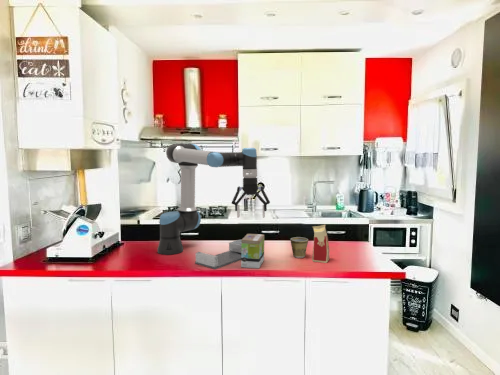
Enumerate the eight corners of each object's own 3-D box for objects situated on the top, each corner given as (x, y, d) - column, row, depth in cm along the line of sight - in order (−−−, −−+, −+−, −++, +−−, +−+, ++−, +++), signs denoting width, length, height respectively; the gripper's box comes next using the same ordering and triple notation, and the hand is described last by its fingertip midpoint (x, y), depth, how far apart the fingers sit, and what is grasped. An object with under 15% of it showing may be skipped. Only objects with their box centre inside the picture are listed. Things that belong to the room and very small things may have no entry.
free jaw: (229, 250, 208) (229, 242, 207) (240, 246, 216) (240, 239, 215) (247, 254, 199) (247, 246, 199) (258, 250, 207) (258, 242, 207)
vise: (195, 263, 188) (194, 252, 187) (241, 248, 217) (240, 238, 217) (215, 269, 178) (215, 257, 178) (260, 252, 208) (260, 242, 207)
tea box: (259, 268, 179) (259, 240, 177) (240, 267, 181) (240, 239, 179) (264, 260, 193) (264, 233, 192) (246, 259, 195) (246, 233, 194)
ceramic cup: (306, 259, 194) (306, 241, 193) (288, 258, 197) (288, 240, 196) (310, 253, 206) (310, 236, 205) (293, 251, 209) (293, 235, 208)
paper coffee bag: (329, 258, 196) (330, 223, 194) (327, 263, 187) (328, 226, 185) (313, 256, 199) (313, 222, 197) (310, 261, 190) (310, 225, 188)
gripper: (225, 178, 183) (226, 218, 185) (273, 177, 179) (273, 218, 181) (228, 177, 190) (229, 216, 192) (274, 176, 186) (275, 216, 188)
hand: (251, 217), depth 186 cm, fingers open, 13 cm apart
